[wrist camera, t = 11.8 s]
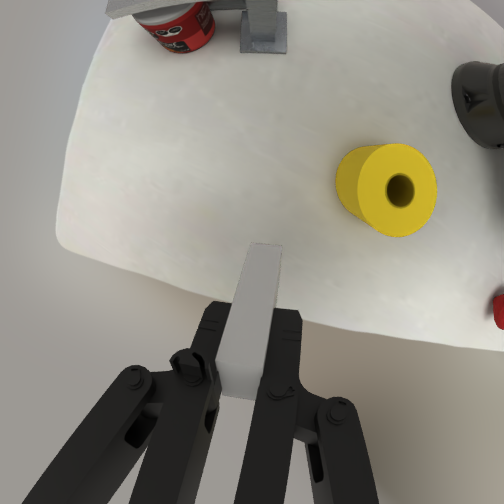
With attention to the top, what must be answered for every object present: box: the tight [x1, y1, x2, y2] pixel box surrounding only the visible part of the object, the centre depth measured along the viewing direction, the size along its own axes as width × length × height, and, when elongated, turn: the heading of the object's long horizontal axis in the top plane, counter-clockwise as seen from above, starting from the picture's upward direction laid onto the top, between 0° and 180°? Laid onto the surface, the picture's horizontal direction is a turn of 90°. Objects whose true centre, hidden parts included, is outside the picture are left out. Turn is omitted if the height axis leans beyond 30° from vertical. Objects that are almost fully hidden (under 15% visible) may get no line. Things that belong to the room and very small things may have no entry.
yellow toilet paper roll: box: [335, 143, 437, 237], centre depth 30 cm, size 10×10×9 cm
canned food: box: [132, 1, 215, 53], centre depth 24 cm, size 8×8×11 cm
